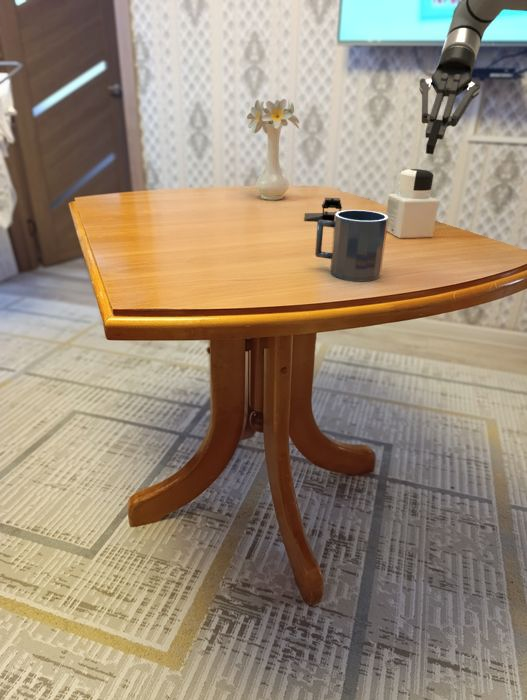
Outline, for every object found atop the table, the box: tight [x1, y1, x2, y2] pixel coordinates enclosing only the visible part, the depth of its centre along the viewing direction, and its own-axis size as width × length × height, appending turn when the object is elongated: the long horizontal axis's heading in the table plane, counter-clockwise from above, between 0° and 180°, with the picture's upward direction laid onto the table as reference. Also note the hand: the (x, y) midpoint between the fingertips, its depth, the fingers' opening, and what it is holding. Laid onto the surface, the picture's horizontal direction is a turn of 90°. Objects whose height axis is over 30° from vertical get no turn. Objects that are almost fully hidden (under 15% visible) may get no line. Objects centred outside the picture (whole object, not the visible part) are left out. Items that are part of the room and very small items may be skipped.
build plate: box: [304, 197, 343, 222], centre depth 120 cm, size 12×7×5 cm, turn 86°
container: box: [385, 168, 440, 239], centre depth 106 cm, size 8×8×13 cm
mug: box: [314, 209, 389, 283], centre depth 82 cm, size 11×8×10 cm
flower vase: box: [246, 98, 300, 201], centre depth 137 cm, size 13×18×25 cm
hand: (429, 149), depth 107 cm, fingers closed
